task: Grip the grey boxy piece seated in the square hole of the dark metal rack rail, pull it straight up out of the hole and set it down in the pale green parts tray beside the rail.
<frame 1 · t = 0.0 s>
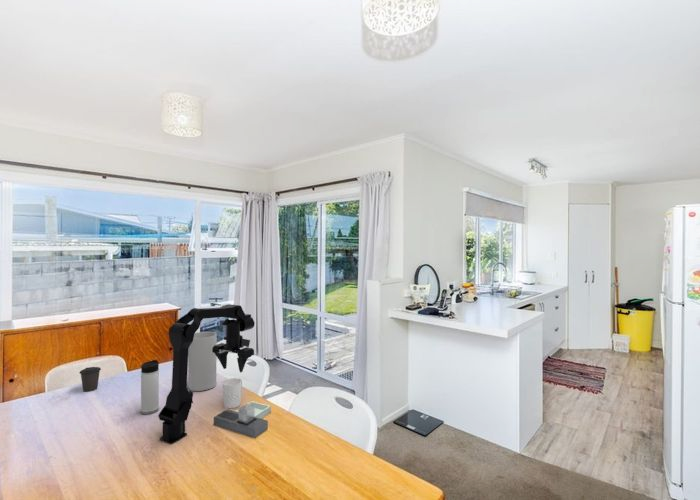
hand: (232, 370, 147), 15 cm above the table, tool pointing down, fingers open, 9 cm apart
cylinder vase: (202, 386, 166), on the table
rack rail: (240, 426, 129), on the table
travel mug: (150, 411, 141), on the table
coffee cup: (90, 389, 162), on the table
white cup: (232, 405, 147), on the table
parts tray: (252, 415, 138), on the table
grey boxy piece: (246, 428, 128), resting in rack rail
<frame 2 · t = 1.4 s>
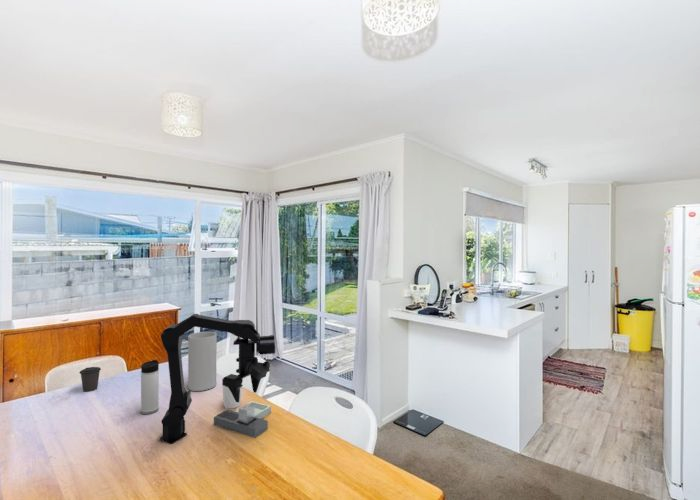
hand: (246, 397, 128), 12 cm above the table, tool pointing down, fingers open, 9 cm apart
nothing on the table moved.
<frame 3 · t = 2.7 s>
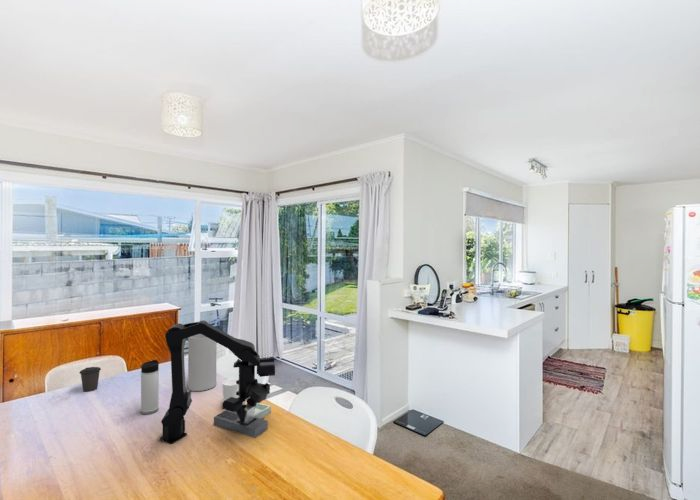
hand: (246, 419, 128), 4 cm above the table, tool pointing down, fingers closed on grey boxy piece, 4 cm apart
grey boxy piece: (246, 428, 128), resting in rack rail, touching gripper
everything else where it was.
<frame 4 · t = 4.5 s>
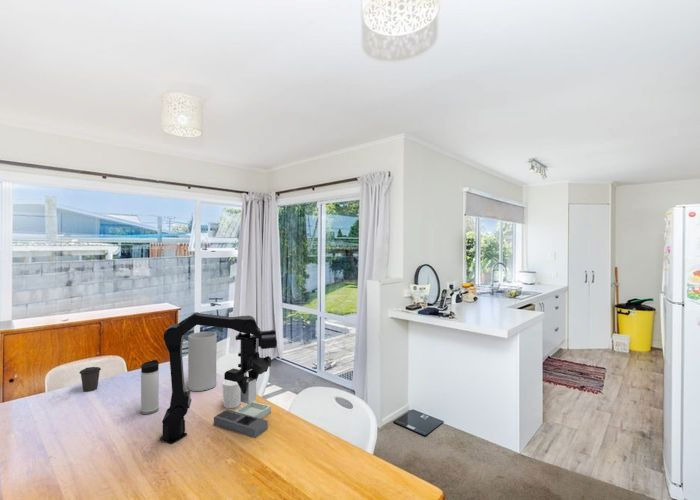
hand: (248, 391, 130), 13 cm above the table, tool pointing down, fingers closed on grey boxy piece, 4 cm apart
grey boxy piece: (248, 400, 130), point 10 cm above the table, touching gripper
everything else where it was.
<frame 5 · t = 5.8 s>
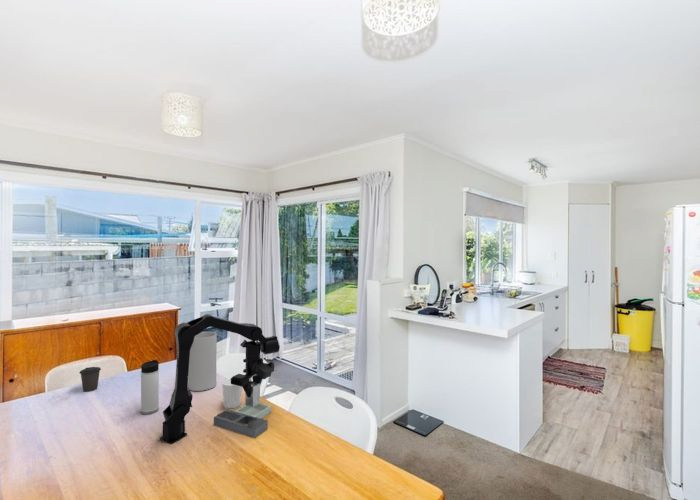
hand: (252, 395, 138), 8 cm above the table, tool pointing down, fingers closed on grey boxy piece, 4 cm apart
grey boxy piece: (252, 403, 138), point 5 cm above the table, touching gripper
everything else where it was.
when the fingers open (5 cm above the table, at t = 6.6 s): grey boxy piece drops 1 cm, resting on parts tray.
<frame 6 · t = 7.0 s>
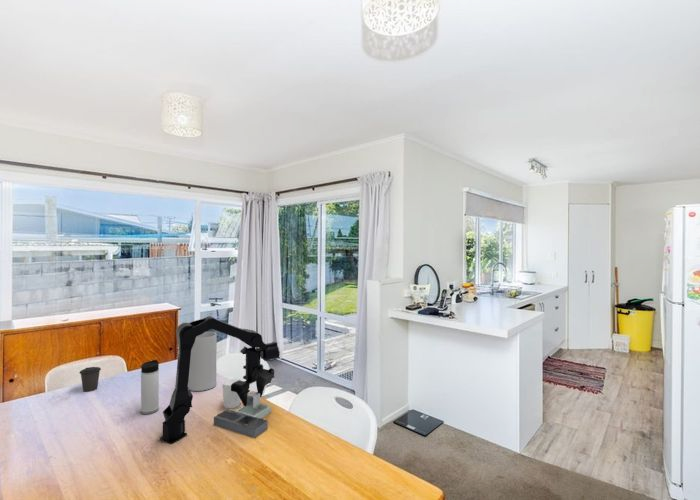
hand: (252, 401, 138), 5 cm above the table, tool pointing down, fingers open, 8 cm apart
grey boxy piece: (252, 413, 138), point 1 cm above the table, touching parts tray
everything else where it was.
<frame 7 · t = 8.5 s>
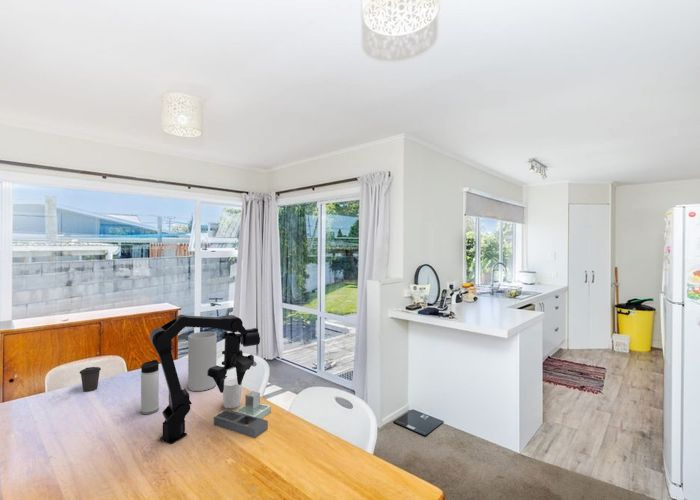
hand: (230, 388, 134), 12 cm above the table, tool pointing down, fingers open, 9 cm apart
nothing on the table moved.
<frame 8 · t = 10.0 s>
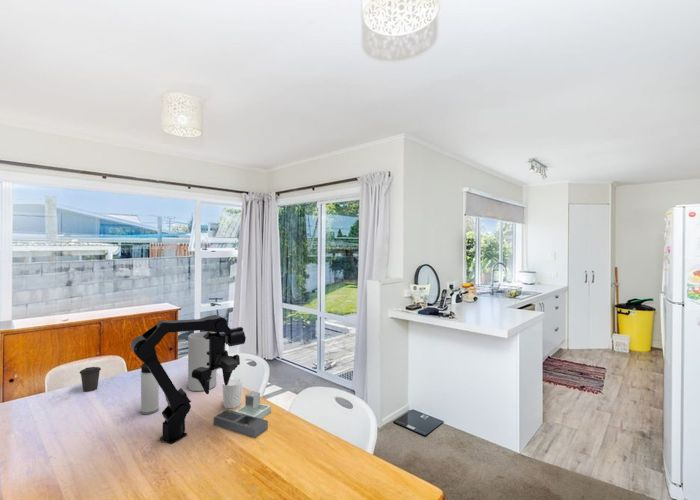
hand: (217, 389, 132), 13 cm above the table, tool pointing down, fingers open, 9 cm apart
nothing on the table moved.
at the end: grey boxy piece inside the target area on the parts tray (0.1 cm from its centre), point 0.6 cm above the parts tray's base; grey boxy piece touching parts tray; the gripper is holding nothing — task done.
